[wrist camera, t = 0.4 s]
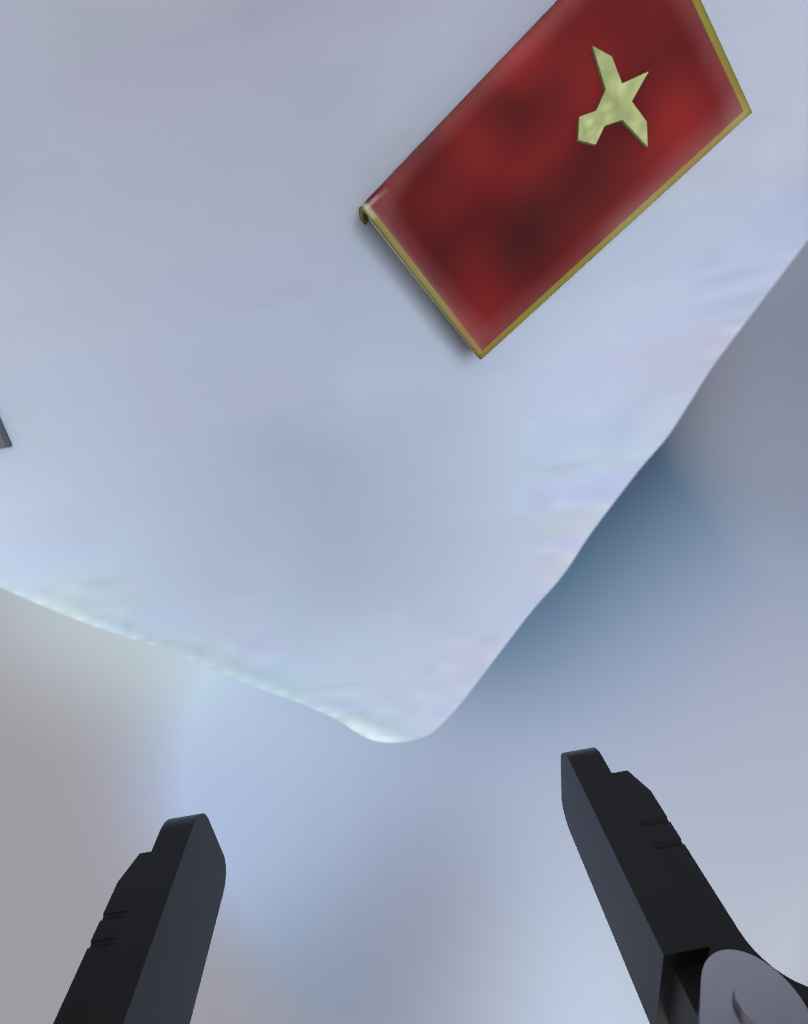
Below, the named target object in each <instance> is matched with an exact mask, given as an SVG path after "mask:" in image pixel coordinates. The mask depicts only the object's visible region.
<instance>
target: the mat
mask: <svg viewBox="0 0 808 1024" xmlns="http://www.w3.org/2000/svg"><path fill="white" fill-rule="evenodd" d="M10 446H12V444H11V442H10V440H9V438H8V435H7V433H6V431H5V428H4V426H3V424H2V421H1V419H0V448H6V447H10Z"/></svg>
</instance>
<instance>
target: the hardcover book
mask: <svg viewBox="0 0 808 1024" xmlns="http://www.w3.org/2000/svg"><path fill="white" fill-rule="evenodd" d="M751 113H752V111H751V109H750V107H749V104H748V102H747V100H746V98H745V96H744V94H743V91H742V89H741V87H740V85H739V83H738V80H737V78H736V76H735V74H734V72H733V70H732V67H731V65H730V63H729V61H728V59H727V57H726V54H725V52H724V50H723V48H722V46H721V43H720V41H719V39H718V37H717V35H716V33H715V30H714V28H713V26H712V24H711V22H710V19H709V17H708V15H707V13H706V11H705V9H704V6H703V4H702V2H701V0H557V1H556V2H555V3H554V5H553V6H552V7H551V8H550V9H549V10H548V11H547V12H546V13H545V14H544V15H543V16H542V17H541V18H540V19H539V20H538V21H537V22H536V23H535V24H534V25H533V27H532V28H531V29H530V30H529V31H528V32H527V33H526V34H525V35H524V36H523V37H522V38H521V39H520V40H519V41H518V42H517V43H516V44H515V45H514V46H513V47H512V49H511V50H510V51H509V52H508V53H507V54H506V55H505V56H504V57H503V58H502V59H501V60H500V61H499V62H498V63H497V64H496V65H495V66H494V67H493V68H492V69H491V71H490V72H489V73H488V74H487V75H486V76H485V77H484V78H483V79H482V80H481V81H480V82H479V83H478V84H477V85H476V86H475V87H474V88H473V89H472V90H471V92H470V93H469V94H468V95H467V96H466V97H465V98H464V99H463V100H462V101H461V102H460V103H459V104H458V105H457V106H456V107H455V108H454V109H453V110H452V111H451V112H450V114H449V115H448V116H447V117H446V118H445V119H444V120H443V121H442V122H441V123H440V124H439V125H438V126H437V127H436V128H435V129H434V130H433V131H432V132H431V133H430V134H429V136H428V137H427V138H426V139H425V140H424V141H423V142H422V143H421V144H420V145H419V146H418V147H417V148H416V149H415V150H414V151H413V152H412V153H411V154H410V155H409V156H408V158H407V159H406V160H405V161H404V162H403V163H402V164H401V165H400V166H399V167H398V168H397V169H396V170H395V171H394V172H393V173H392V174H391V175H390V176H389V177H388V178H387V180H386V181H385V182H384V183H383V184H382V185H381V186H380V187H379V188H378V189H377V190H376V191H375V192H374V193H373V194H372V195H371V196H370V197H369V198H368V199H367V200H366V202H365V203H364V204H363V205H362V206H361V207H360V208H359V216H360V219H361V221H362V222H363V223H364V224H366V223H367V222H368V221H370V222H371V224H372V225H373V226H374V227H375V229H376V230H377V231H378V232H379V234H380V235H381V236H382V238H383V239H384V240H385V241H386V243H387V244H388V245H389V246H390V248H391V249H392V250H393V252H394V253H395V254H396V255H397V257H398V258H399V259H400V260H401V262H402V263H403V264H404V266H405V267H406V268H407V269H408V271H409V272H410V273H411V274H412V276H413V277H414V278H415V280H416V281H417V282H418V283H419V285H420V286H421V287H422V288H423V290H424V291H425V292H426V294H427V295H428V296H429V297H430V299H431V300H432V301H433V302H434V304H435V305H436V306H437V308H438V309H439V310H440V311H441V313H442V314H443V315H444V316H445V318H446V319H447V320H448V322H449V323H450V324H451V325H452V327H453V328H454V329H455V330H456V332H457V333H458V334H459V336H460V337H461V338H462V339H463V341H464V342H465V343H466V344H467V346H468V347H469V348H470V350H473V351H474V352H475V354H476V355H477V356H478V357H479V359H482V358H483V357H484V356H485V355H486V354H488V353H489V352H490V351H491V350H492V349H493V348H494V347H495V346H496V345H497V344H499V343H500V342H501V341H502V340H503V339H504V338H505V337H506V336H507V335H508V334H509V333H511V332H512V331H513V330H514V329H515V328H516V327H517V326H518V325H519V324H520V323H522V322H523V321H524V320H525V319H526V318H527V317H528V316H529V315H530V314H531V313H532V312H534V311H535V310H536V309H537V308H538V307H539V306H540V305H541V304H542V303H543V302H545V301H546V300H547V299H548V298H549V297H550V296H551V295H552V294H553V293H554V292H556V291H557V290H558V289H559V288H560V287H561V286H562V285H563V284H564V283H565V282H566V281H568V280H569V279H570V278H571V277H572V276H573V275H574V274H575V273H576V272H577V271H579V270H580V269H581V268H582V267H583V266H584V265H585V264H586V263H587V262H588V261H590V260H591V259H592V258H593V257H594V256H595V255H596V254H597V253H598V252H599V251H600V250H602V249H603V248H604V247H605V246H606V245H607V244H608V243H609V242H610V241H611V240H613V239H614V238H615V237H616V236H617V235H618V234H619V233H620V232H621V231H622V230H623V229H625V228H626V227H627V226H628V225H629V224H630V223H631V222H632V221H633V220H634V219H636V218H637V217H638V216H639V215H640V214H641V213H642V212H643V211H644V210H645V209H647V208H648V207H649V206H650V205H651V204H652V203H653V202H654V201H655V200H656V199H657V198H659V197H660V196H661V195H662V194H663V193H664V192H665V191H666V190H667V189H668V188H670V187H671V186H672V185H673V184H674V183H675V182H676V181H677V180H678V179H679V178H681V177H682V176H683V175H684V174H685V173H686V172H687V171H688V170H689V169H690V168H691V167H693V166H694V165H695V164H696V163H697V162H698V161H699V160H700V159H701V158H702V157H704V156H705V155H706V154H707V153H708V152H709V151H710V150H711V149H712V148H713V147H715V146H716V145H717V144H718V143H719V142H720V141H721V140H722V139H723V138H724V137H725V136H727V135H728V134H729V133H730V132H731V131H732V130H733V129H734V128H735V127H736V126H738V125H739V124H740V123H741V122H742V121H743V120H744V119H745V118H746V117H747V116H748V115H750V114H751Z"/></svg>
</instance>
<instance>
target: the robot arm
mask: <svg viewBox="0 0 808 1024" xmlns="http://www.w3.org/2000/svg"><path fill="white" fill-rule="evenodd" d="M561 787H562V805H563V810H564V814H565V818H566V821H567V824H568V827H569V830H570V832H571V835H572V837H573V840H574V842H575V845H576V847H577V849H578V852H579V854H580V857H581V859H582V861H583V864H584V866H585V869H586V871H587V873H588V876H589V878H590V881H591V883H592V885H593V888H594V890H595V893H596V895H597V897H598V900H599V902H600V905H601V907H602V909H603V912H604V914H605V917H606V919H607V921H608V924H609V926H610V929H611V931H612V933H613V936H614V938H615V940H616V943H617V945H618V947H619V950H620V953H621V955H622V957H623V960H624V962H625V965H626V967H627V969H628V972H629V974H630V977H631V979H632V981H633V984H634V986H635V989H636V991H637V993H638V996H639V998H640V1001H641V1003H642V1005H643V1008H644V1010H645V1013H646V1015H647V1017H648V1020H649V1022H650V1024H808V987H807V986H804V985H802V984H800V983H798V982H795V981H793V980H792V979H790V978H788V977H786V976H785V975H783V974H782V973H780V972H779V971H777V970H776V969H774V968H773V967H772V966H771V965H770V964H768V963H767V962H766V961H765V960H763V959H762V958H761V957H760V956H759V955H758V954H757V953H756V952H755V951H754V950H753V948H752V947H751V946H750V945H749V944H748V943H747V941H746V940H745V939H744V937H743V936H742V934H741V933H740V932H739V930H738V928H737V927H736V925H735V924H734V922H733V920H732V919H731V917H730V916H729V914H728V913H727V911H726V910H725V908H724V906H723V905H722V903H721V902H720V900H719V898H718V897H717V895H716V894H715V892H714V890H713V889H712V887H711V886H710V884H709V883H708V881H707V879H706V878H705V876H704V875H703V873H702V871H701V870H700V868H699V867H698V865H697V864H696V862H695V860H694V859H693V857H692V856H691V854H690V852H689V851H688V849H687V848H686V846H685V845H684V844H682V842H681V838H680V837H679V835H678V833H677V832H676V830H675V829H674V827H673V826H672V824H671V822H669V821H668V820H667V816H666V815H665V813H664V811H663V810H662V808H661V806H660V805H659V803H658V802H657V800H656V799H655V797H654V795H653V794H652V792H651V791H650V790H649V789H648V788H647V787H645V786H644V785H643V784H642V783H641V782H640V781H639V780H638V779H637V778H635V777H634V776H633V775H632V774H631V773H630V772H628V771H622V772H617V773H611V771H610V769H609V768H608V766H607V764H606V762H605V761H604V759H603V757H602V755H601V754H600V752H599V751H598V750H597V749H596V748H588V749H582V750H577V751H571V752H565V753H562V754H561ZM225 879H226V864H225V858H224V855H223V852H222V850H221V848H220V845H219V843H218V841H217V838H216V836H215V833H214V831H213V829H212V827H211V824H210V822H209V819H208V818H207V816H206V815H205V814H196V815H191V816H185V817H179V818H173V819H169V820H167V821H166V822H165V823H164V825H163V826H162V828H161V830H160V832H159V835H158V837H157V840H156V842H155V844H154V847H153V849H152V851H151V852H147V853H140V854H139V856H138V857H137V858H136V859H135V860H134V862H133V863H132V864H131V866H130V867H129V868H128V870H127V871H126V872H125V874H124V875H123V876H122V877H121V879H120V880H119V881H118V883H117V885H116V887H115V889H114V892H113V894H112V896H111V898H110V900H109V902H108V905H107V907H106V909H105V911H104V914H103V920H102V921H100V923H99V924H98V927H97V929H96V931H95V933H94V935H93V938H92V940H91V946H90V948H89V949H87V951H86V953H85V955H84V957H83V960H82V962H81V964H80V966H79V968H78V971H77V973H76V975H75V977H74V979H73V982H72V984H71V986H70V988H69V991H68V993H67V995H66V997H65V999H64V1001H63V1003H62V1006H61V1008H60V1010H59V1012H58V1014H57V1017H56V1019H55V1021H54V1023H53V1024H190V1020H191V1016H192V1013H193V1009H194V1005H195V1001H196V997H197V993H198V989H199V985H200V981H201V977H202V974H203V969H204V966H205V962H206V958H207V954H208V950H209V946H210V942H211V938H212V935H213V931H214V926H215V923H216V919H217V915H218V911H219V907H220V903H221V899H222V896H223V891H224V887H225Z"/></svg>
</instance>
